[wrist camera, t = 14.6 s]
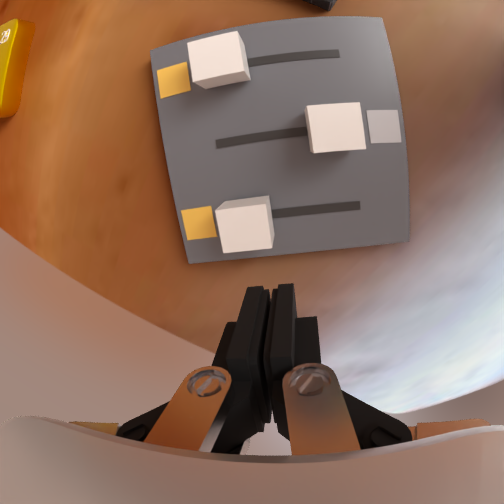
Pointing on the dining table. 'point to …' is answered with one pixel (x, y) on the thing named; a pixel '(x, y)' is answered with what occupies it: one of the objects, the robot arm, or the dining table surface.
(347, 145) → the tab
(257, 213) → the tab
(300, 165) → the switch board
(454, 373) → the dining table surface
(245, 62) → the tab
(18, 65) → the element tile
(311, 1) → the disk drive
